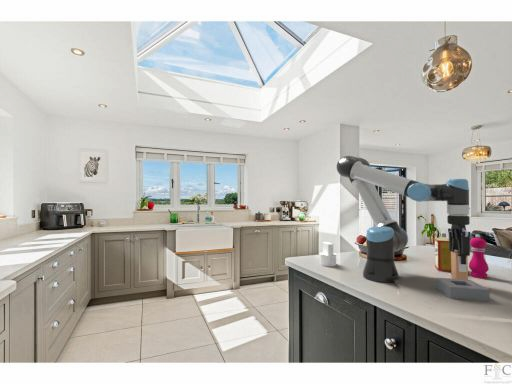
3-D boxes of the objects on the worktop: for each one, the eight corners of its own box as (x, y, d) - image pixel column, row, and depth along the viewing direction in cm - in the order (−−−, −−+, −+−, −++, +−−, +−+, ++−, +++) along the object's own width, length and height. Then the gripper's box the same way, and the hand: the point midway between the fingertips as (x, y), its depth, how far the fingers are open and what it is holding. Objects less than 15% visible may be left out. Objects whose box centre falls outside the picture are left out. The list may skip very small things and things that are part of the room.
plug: (456, 284, 110) (455, 251, 111) (451, 281, 114) (450, 249, 115) (468, 285, 109) (467, 251, 110) (462, 282, 113) (462, 249, 114)
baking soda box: (454, 272, 133) (453, 240, 133) (438, 270, 136) (437, 239, 136) (449, 267, 141) (448, 238, 142) (435, 266, 144) (434, 237, 145)
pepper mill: (492, 279, 121) (491, 235, 122) (474, 278, 123) (473, 235, 123) (482, 274, 128) (481, 233, 129) (465, 274, 130) (464, 233, 130)
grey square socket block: (450, 301, 95) (450, 287, 95) (435, 290, 107) (435, 277, 107) (489, 304, 92) (489, 289, 92) (470, 292, 104) (470, 279, 104)
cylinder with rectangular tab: (317, 262, 153) (317, 241, 154) (332, 262, 154) (332, 241, 155) (323, 266, 144) (323, 244, 145) (339, 266, 145) (338, 244, 146)
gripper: (480, 216, 103) (481, 276, 103) (457, 214, 120) (458, 265, 119) (458, 216, 105) (459, 275, 104) (439, 213, 122) (440, 264, 121)
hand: (459, 270), depth 112 cm, fingers closed on plug, 4 cm apart
